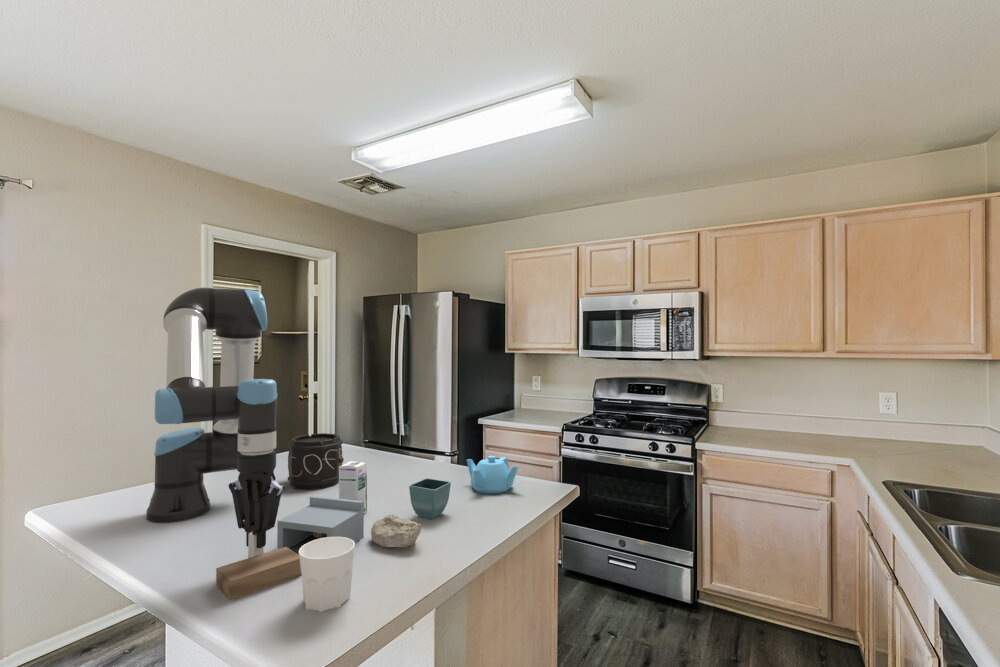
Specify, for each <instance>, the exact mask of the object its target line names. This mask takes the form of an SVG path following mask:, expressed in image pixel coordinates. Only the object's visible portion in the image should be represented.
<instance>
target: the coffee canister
mask: <svg viewBox="0 0 1000 667" xmlns="http://www.w3.org/2000/svg"><path fill="white" fill-rule="evenodd" d="M343 443H344V442H343V440H342V439H341V436H340V435H337V434H335V433H326V432H324V433H323V432H321V433H311V435H309V433H308V434H302V435H297V436H295V437H293V438H290V442H288V444H287V448H288V456H287V471H288V476H287V479H286V480H287V481H288V482H289V483H290V486H291V487H292V488H293V489H297V490H306V491H308V490H317V489H318V490H319V489H326V488H329V487H332V486H335V485H337V483H338V484H339V466H342V465H343V462H344V460H345V459H344V457H343V447H342V444H343Z"/></svg>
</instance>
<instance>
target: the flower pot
mask: <svg viewBox="0 0 1000 667" xmlns="http://www.w3.org/2000/svg"><path fill="white" fill-rule="evenodd" d="M451 483H452V481H447V480H446V481H445V480H440V479H434V478H428V477H426V478H423V479H421V480H419V481H417V482H414V483H411V484H410V485H409V486H408V489H409V495H410V497H409V499H410V504H411V507H412V509H413V511H414V513H415V514H416V516H417V517H420V518H425V519H430V520H432V519H435V518H437V517H438V516H440V515H442V514H443V512H444V510H446V507H447V506H448V505H447V504H448V503H449V500H450V499H449V498H450V492H451Z"/></svg>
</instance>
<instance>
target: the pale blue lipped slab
mask: <svg viewBox="0 0 1000 667" xmlns="http://www.w3.org/2000/svg"><path fill="white" fill-rule="evenodd" d="M364 517H365V514H364V501H357V500H348V499H339V497H338V498H337V497H336V498H335V497H327V496H326V497H325V496H318V495H311V496H309V505H307V506H305V507H303V508H301V509H299V510H297V511H295V512H292V513H290V514H288V515H287V516H285V517H283V518H281V519H278V520H277V526H276V527H277V530H276V534H277V535H276V536H277V537H276V538H277V539H276V542H277V544H276V546H277V548H276V550H277V549H280V548H283V547H287V548H289V549H291V548H292V547H294V546H295V545H296V544H299V543H300V542H301V541H303V540H305V539H307V538H308V537H310V536H312V535H313V537H314V538H318V539H320V538H325V536H326V537H346V538H349V539H351V540H353V541H354V543H355V544H357V543H358V542H359V541H361V540H362V539H364V534H365V533H364V532H365V531H364V529H365V528H364V527H365V526H364V519H365V518H364Z"/></svg>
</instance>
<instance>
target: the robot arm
mask: <svg viewBox="0 0 1000 667" xmlns="http://www.w3.org/2000/svg"><path fill="white" fill-rule="evenodd" d="M162 325H163V329H164V331H165V332H166V333H167V349H166V352H167V353H166V354H167V355H166V383H165V384H166V388H162V389H161V388H160V389H158V390H156V391H155V396H154V421H155V422H156V423H157V424H160V425H181V424H190V423H200V422H213V421H217V422H216V423H214V425H213V426H212V431H209V432H205V431H206V430H205V429H204V428H203V427H193V428H192V427H191V428H185V429H179V430H177V431H171V432H168V433H165V434H162V435H161V436H159V437H158V438H156V442H155V447H154V449H155V450H154V454H153V456H154V457H155V458H154V459H155V460H154V489H153V493H152V495H151V499H150V502H149V505H148V507H147V509H146V514H145V515H146V521H148V522H151V523H155V524H156V523H159V524H163V523H164V524H165V523H174V522H176V523H177V522H181V521H186V520H190V519H194V518H197V517H199V516H203V515H205V514H206V513H208V512H209V511H210V510H211V500H210V497H209V496H208V492H207V489H206V487H205V484H204V474H210V473H219V472H225V471H227V472H228V471H235V470H237V472H238V473H239V474H238V476H237V479H236V480H234V481H233V482H230V483H228V489H229V491H230V493H231V494H232V500H233V501H232V502H233V506H234V512H235V517H236V523H237V527H238V529H243V530H244V532H245V533H246V534H245V535H246V539H245V541H246V542H245V543H246V547H247V549H248V551H247V553H248V557H247V559H248V558H251V557H254V556H257V555H261V554H264V549H265V548H264V547H265V546H266V545H267V531H269V530H271V529H273V528H275V525H276V521H277V516H278V512H279V511H278V510H279V507H280V504H281V497H282V495H283V493H284V491H285V490H286V486H285V484H283V483H282V484H281V485H280V484H279V483H278V482H277V481H276V476H275V473H274V472H275V468H276V467H277V452H276V450H275V449H276V448H277V407H278V406H277V404H278V403H277V402H278V392H277V389H278V388H277V382H276V380H274V379H270V378H254V375H255V374H254V369H255V349H256V347H255V346H256V345H255V344H256V342H257V341H258V340H259V339H260V338H261V336H262V332H265V331H266V330H267V329H268V313H267V307H266V302H265V298H264V295H263V294H262V293H261V292H260V291H258V290H251V289H242V288H241V289H240V288H217V287H216V288H215V287H196V288H192V289H189V290H187V291H185V292H183V293H181V294H179V295H178V296H177V297H175V298H174V299H173V300H172V301H171V302H170V303H169V304H168V306H167V307H166V309H165V311H164V314H163V320H162ZM205 330H210V331H211V330H212V331H213V330H215V337H216V338H217V339H218V340H219V341H220V342H221V344H220V348H221V350H220V353H221V354H220V380H219V381H220V382H219V383H220V384H219V386H206V370H205V369H206V366H205V350H204V332H205Z"/></svg>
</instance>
